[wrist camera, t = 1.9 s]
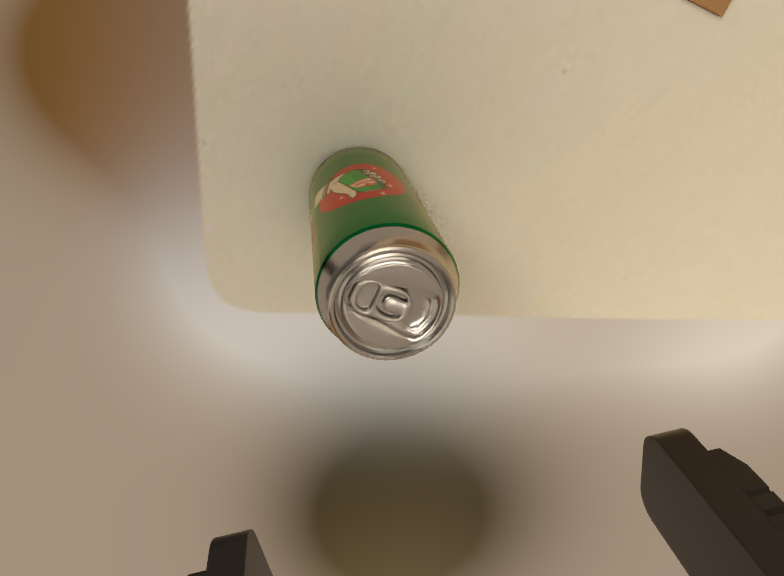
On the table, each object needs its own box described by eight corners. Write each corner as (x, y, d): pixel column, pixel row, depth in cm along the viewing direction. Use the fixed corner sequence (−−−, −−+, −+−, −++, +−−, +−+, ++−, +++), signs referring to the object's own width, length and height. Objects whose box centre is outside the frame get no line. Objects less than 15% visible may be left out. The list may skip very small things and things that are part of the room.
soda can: (382, 252, 31) (427, 385, 20) (294, 219, 29) (293, 346, 19) (423, 167, 29) (494, 266, 19) (331, 128, 28) (352, 212, 17)
